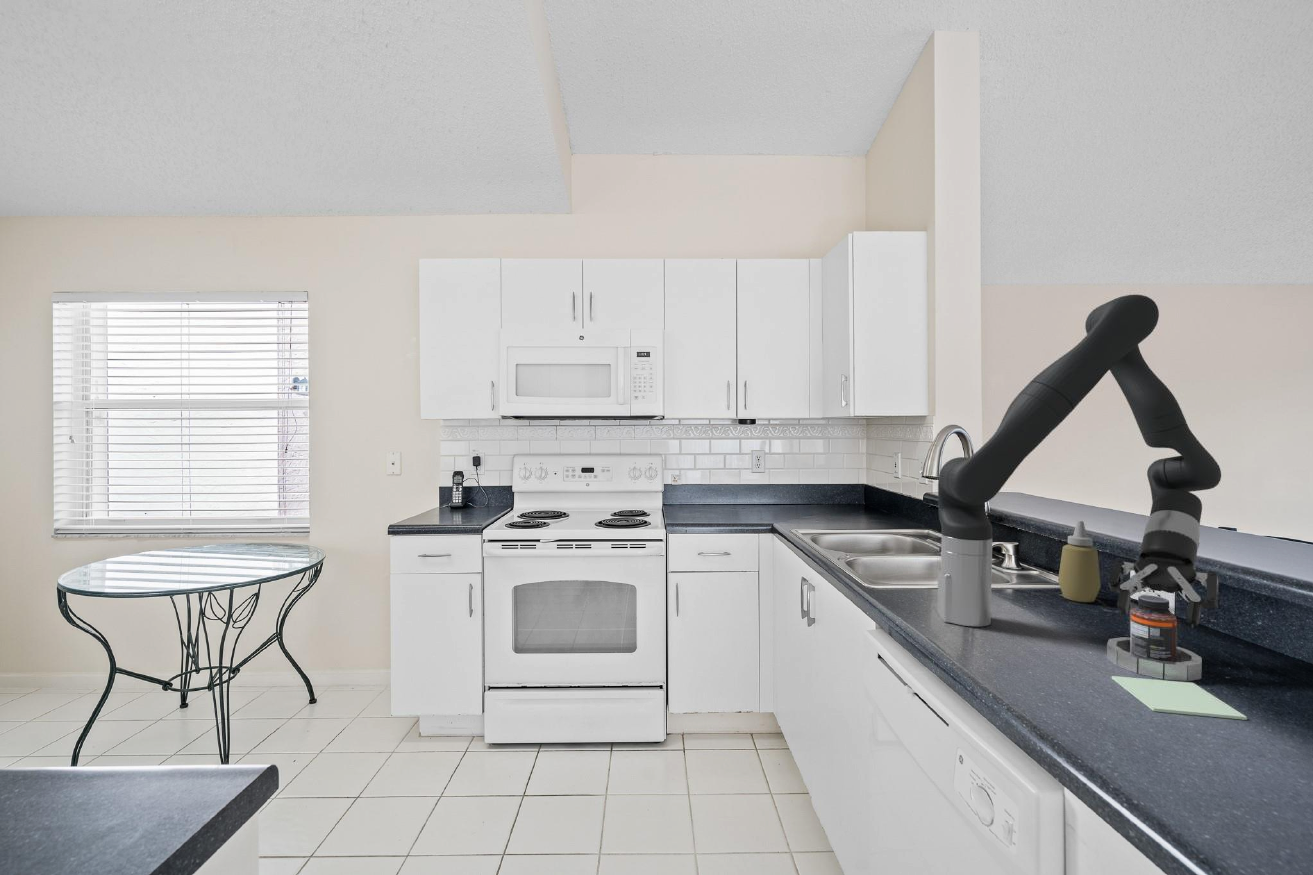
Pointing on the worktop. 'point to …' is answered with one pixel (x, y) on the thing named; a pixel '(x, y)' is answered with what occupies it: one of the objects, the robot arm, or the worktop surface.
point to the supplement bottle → (1153, 629)
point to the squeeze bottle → (1079, 567)
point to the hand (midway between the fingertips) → (1155, 618)
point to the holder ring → (1155, 662)
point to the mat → (1177, 697)
